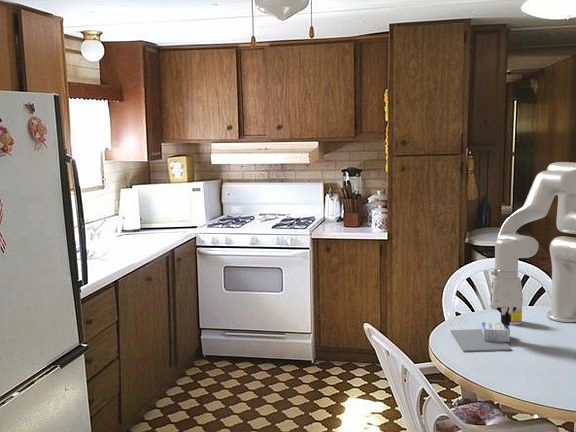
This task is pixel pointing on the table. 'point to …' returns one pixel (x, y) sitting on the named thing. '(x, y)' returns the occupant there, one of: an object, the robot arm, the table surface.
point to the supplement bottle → (516, 316)
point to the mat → (477, 341)
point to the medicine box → (495, 332)
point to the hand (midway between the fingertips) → (505, 324)
